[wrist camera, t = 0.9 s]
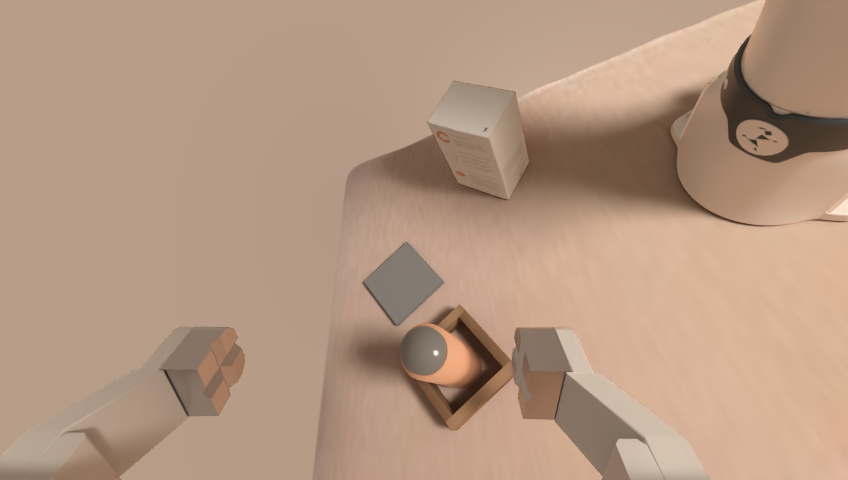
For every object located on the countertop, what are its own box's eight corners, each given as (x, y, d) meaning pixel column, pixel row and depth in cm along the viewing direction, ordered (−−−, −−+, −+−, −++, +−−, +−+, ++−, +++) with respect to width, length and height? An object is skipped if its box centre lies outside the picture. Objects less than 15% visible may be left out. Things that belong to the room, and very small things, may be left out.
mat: (408, 243, 52) (406, 241, 51) (444, 282, 47) (443, 281, 47) (365, 283, 51) (363, 281, 51) (398, 325, 47) (396, 325, 47)
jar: (463, 335, 44) (426, 310, 33) (491, 368, 41) (461, 352, 30) (433, 364, 44) (386, 347, 33) (459, 398, 41) (417, 393, 30)
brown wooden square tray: (464, 309, 45) (459, 304, 43) (520, 370, 40) (517, 368, 38) (408, 362, 45) (400, 359, 43) (457, 429, 40) (451, 430, 38)
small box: (530, 162, 50) (517, 90, 39) (508, 201, 49) (489, 139, 38) (478, 147, 54) (452, 78, 43) (456, 183, 53) (424, 122, 42)
